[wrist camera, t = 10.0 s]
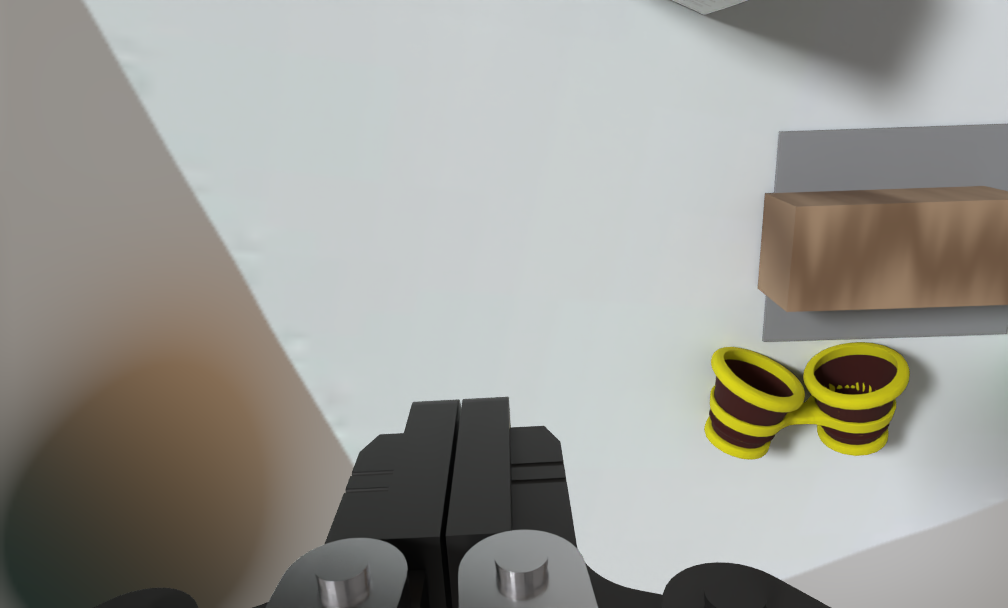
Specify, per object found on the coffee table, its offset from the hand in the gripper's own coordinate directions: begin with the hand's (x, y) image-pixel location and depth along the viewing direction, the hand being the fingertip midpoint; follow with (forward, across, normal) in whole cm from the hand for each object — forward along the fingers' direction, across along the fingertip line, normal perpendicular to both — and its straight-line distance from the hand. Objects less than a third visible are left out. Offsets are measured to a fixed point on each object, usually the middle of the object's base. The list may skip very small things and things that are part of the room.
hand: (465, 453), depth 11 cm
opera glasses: (+26, -16, +12) cm, 33 cm away
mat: (+26, -21, +3) cm, 34 cm away
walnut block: (+24, -14, +3) cm, 28 cm away
